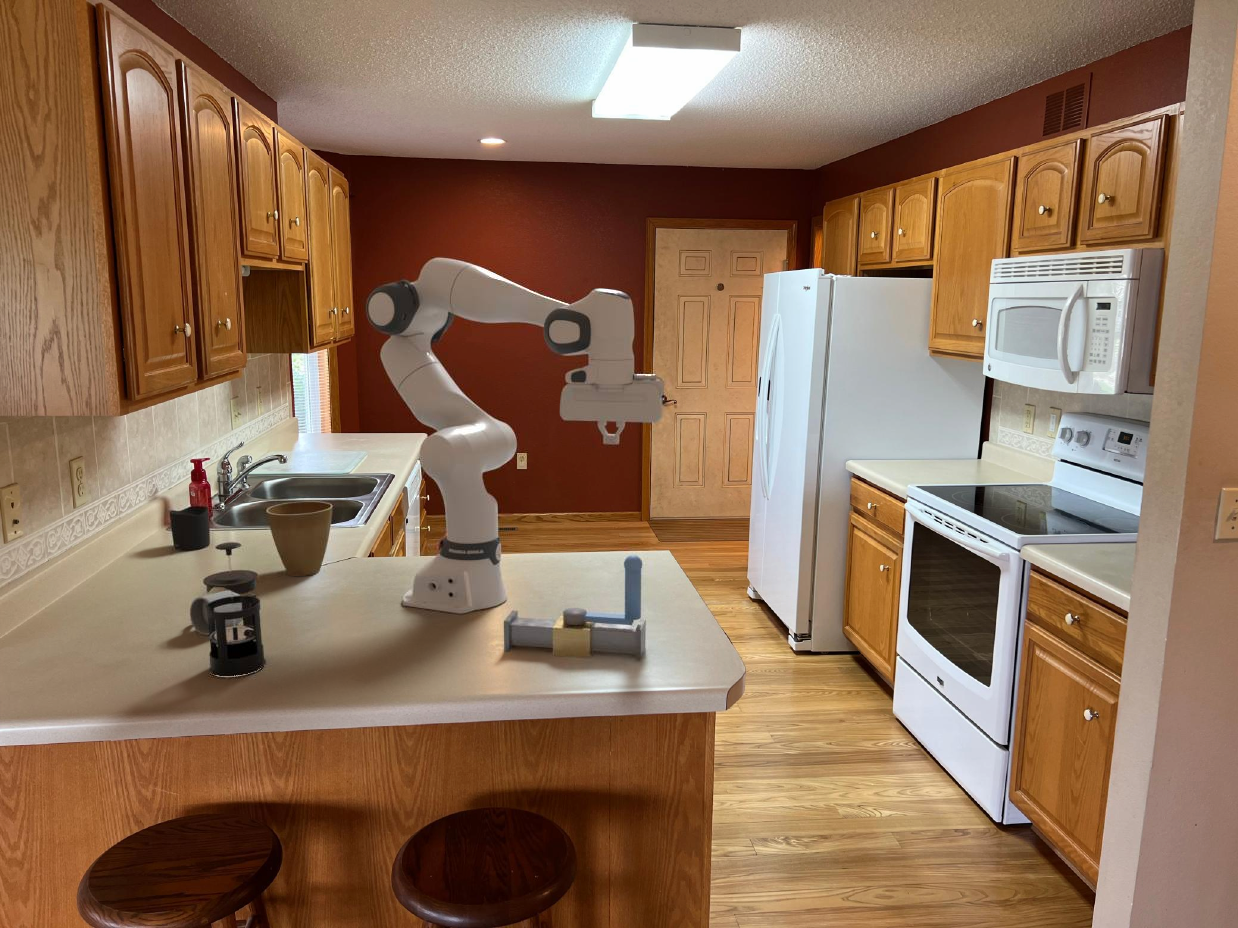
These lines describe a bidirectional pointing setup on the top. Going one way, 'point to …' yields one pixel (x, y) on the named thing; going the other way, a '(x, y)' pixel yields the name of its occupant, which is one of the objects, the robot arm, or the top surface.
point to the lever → (631, 600)
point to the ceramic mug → (199, 611)
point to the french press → (235, 644)
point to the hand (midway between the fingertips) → (611, 443)
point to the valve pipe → (574, 636)
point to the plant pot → (301, 534)
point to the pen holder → (190, 528)
